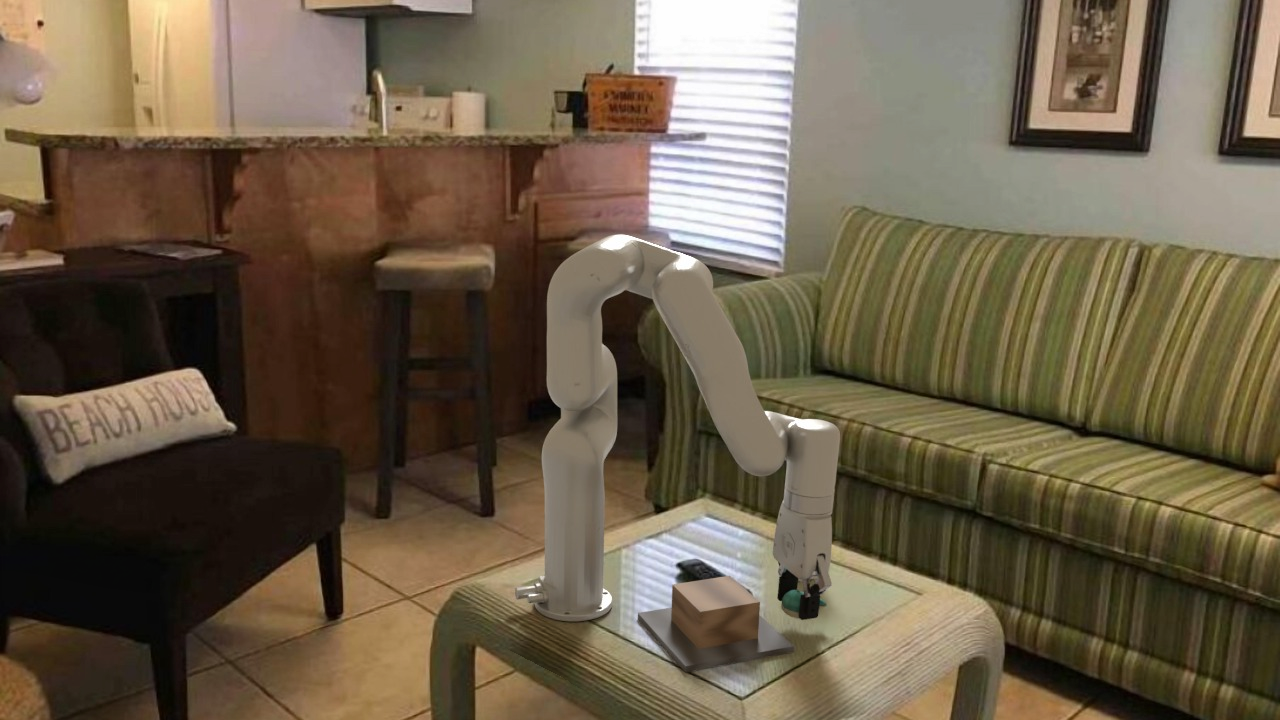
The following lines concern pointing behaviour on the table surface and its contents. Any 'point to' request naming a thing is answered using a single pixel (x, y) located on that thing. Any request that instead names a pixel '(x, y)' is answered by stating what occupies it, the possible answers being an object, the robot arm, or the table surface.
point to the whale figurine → (795, 603)
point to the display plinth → (712, 653)
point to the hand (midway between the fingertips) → (797, 607)
